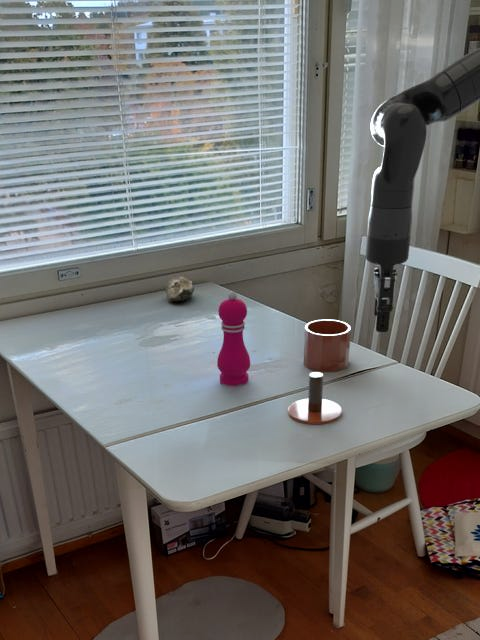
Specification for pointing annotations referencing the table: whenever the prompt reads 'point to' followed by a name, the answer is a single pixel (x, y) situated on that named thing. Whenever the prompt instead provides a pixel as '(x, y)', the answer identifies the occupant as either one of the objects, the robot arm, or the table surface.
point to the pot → (326, 345)
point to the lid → (315, 404)
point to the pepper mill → (233, 342)
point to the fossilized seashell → (179, 289)
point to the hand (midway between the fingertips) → (380, 323)
